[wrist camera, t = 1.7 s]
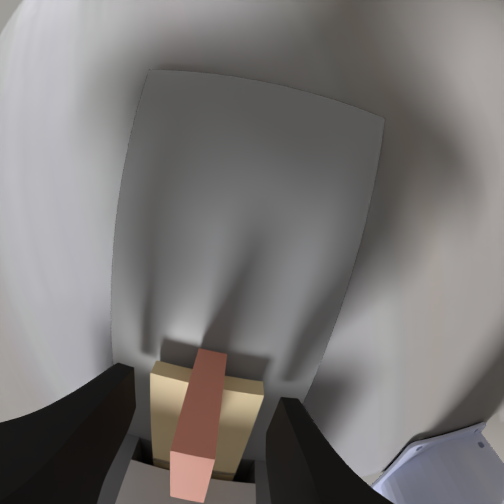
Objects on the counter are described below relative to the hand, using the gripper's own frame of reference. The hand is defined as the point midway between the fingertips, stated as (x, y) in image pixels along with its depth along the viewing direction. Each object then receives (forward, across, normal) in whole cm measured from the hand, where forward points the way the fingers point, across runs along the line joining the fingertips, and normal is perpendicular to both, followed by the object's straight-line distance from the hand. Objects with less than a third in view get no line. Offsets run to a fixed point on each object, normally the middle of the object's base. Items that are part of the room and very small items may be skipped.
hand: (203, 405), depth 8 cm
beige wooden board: (+1, 0, +5) cm, 6 cm away
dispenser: (+2, 0, +2) cm, 3 cm away
